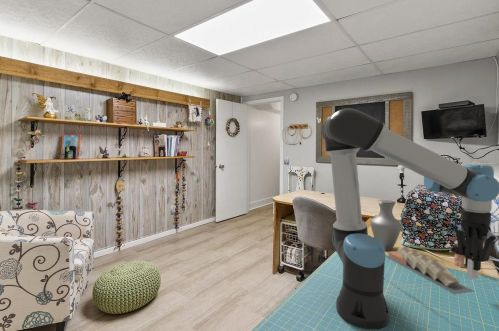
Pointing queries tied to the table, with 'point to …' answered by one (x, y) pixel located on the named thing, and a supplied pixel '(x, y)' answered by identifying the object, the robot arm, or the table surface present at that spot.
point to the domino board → (452, 289)
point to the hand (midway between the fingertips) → (472, 277)
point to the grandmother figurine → (458, 256)
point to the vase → (386, 225)
